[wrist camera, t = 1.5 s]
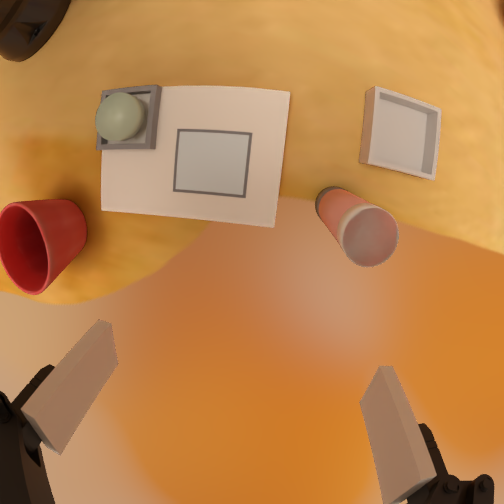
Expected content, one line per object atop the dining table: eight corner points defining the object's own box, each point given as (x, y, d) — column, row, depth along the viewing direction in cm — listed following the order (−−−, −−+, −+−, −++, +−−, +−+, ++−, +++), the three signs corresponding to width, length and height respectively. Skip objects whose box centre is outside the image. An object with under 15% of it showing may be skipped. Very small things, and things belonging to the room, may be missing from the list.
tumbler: (317, 183, 28) (348, 202, 16) (355, 189, 28) (404, 212, 16) (312, 221, 29) (336, 263, 18) (348, 226, 29) (390, 270, 18)
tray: (365, 91, 24) (375, 85, 21) (427, 111, 24) (441, 109, 21) (358, 162, 27) (367, 163, 24) (421, 177, 26) (434, 180, 24)
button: (107, 97, 23) (98, 95, 21) (147, 93, 23) (139, 90, 21) (102, 141, 25) (93, 141, 23) (142, 140, 25) (134, 139, 23)
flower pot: (111, 237, 31) (64, 267, 22) (69, 277, 34) (28, 309, 25) (70, 171, 29) (16, 182, 20) (33, 219, 31) (-13, 239, 22)
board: (113, 93, 25) (101, 90, 23) (289, 94, 25) (291, 88, 22) (106, 208, 30) (94, 213, 28) (274, 225, 30) (274, 231, 27)
